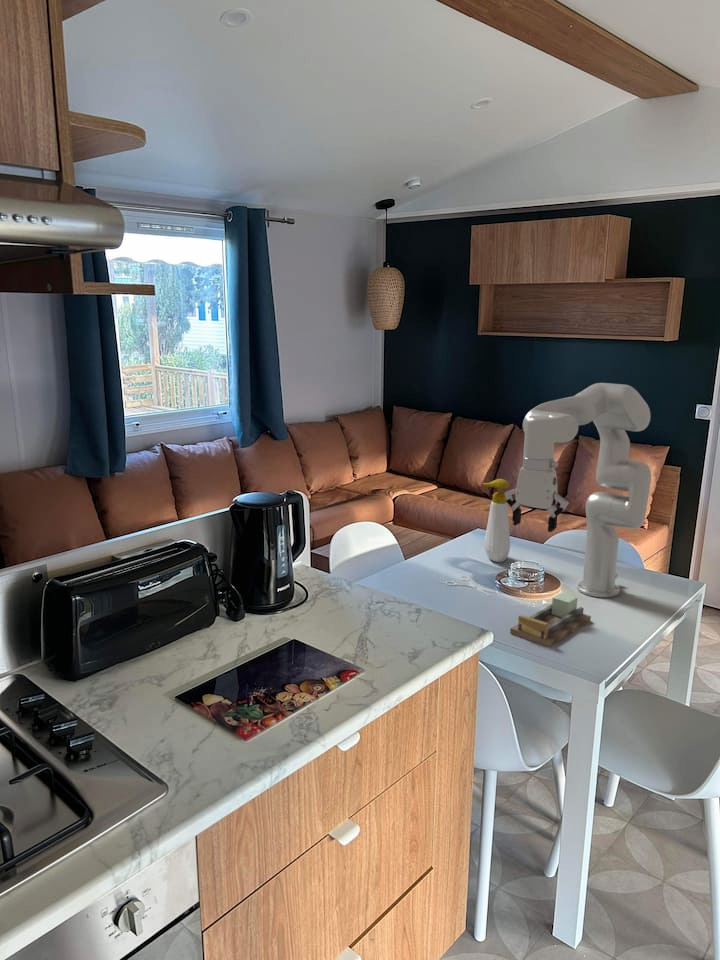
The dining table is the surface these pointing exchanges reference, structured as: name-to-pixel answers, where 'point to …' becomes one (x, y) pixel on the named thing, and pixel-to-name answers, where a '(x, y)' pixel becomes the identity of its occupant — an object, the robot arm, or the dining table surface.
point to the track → (549, 626)
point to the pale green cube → (563, 605)
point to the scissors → (468, 585)
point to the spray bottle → (498, 524)
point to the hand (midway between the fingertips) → (533, 527)
